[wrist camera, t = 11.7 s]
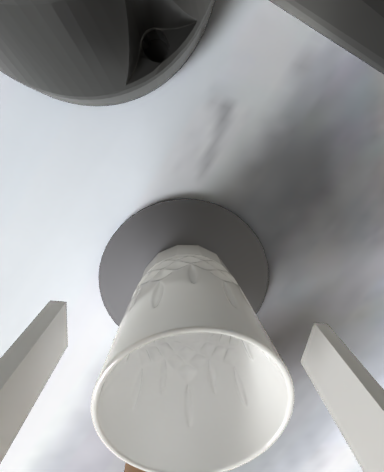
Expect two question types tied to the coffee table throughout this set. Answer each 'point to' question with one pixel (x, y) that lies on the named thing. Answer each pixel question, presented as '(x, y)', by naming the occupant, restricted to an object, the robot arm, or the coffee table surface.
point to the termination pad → (180, 233)
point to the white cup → (190, 372)
